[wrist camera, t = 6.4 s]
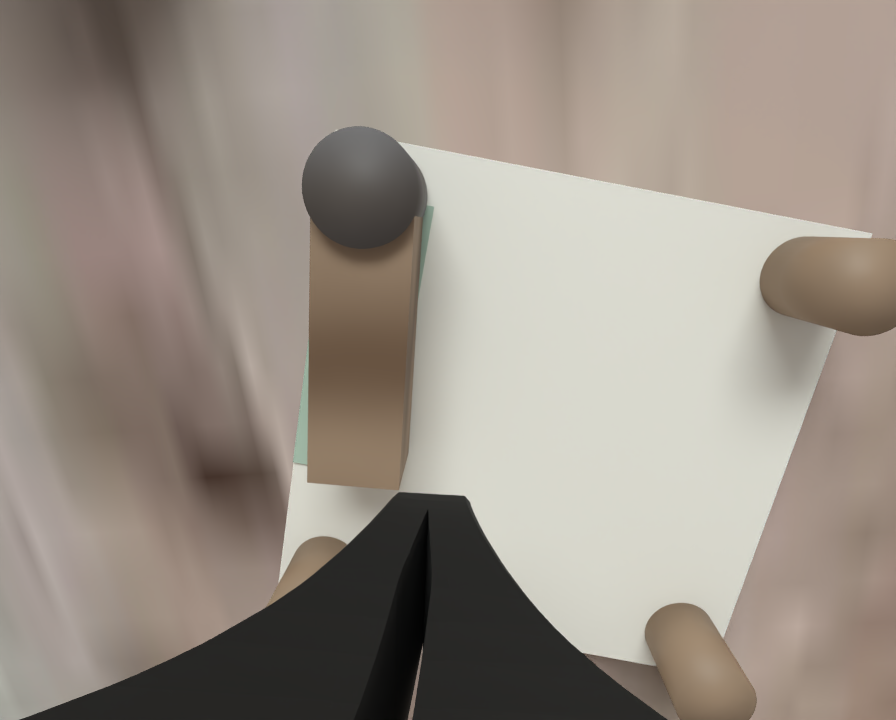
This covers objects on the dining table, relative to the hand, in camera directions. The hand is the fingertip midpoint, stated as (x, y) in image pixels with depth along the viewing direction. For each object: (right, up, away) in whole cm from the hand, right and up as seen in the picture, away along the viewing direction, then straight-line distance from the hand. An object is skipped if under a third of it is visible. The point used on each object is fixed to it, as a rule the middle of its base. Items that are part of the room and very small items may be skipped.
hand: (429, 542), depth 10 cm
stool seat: (+4, +1, +9) cm, 10 cm away
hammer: (-2, +5, +7) cm, 9 cm away
